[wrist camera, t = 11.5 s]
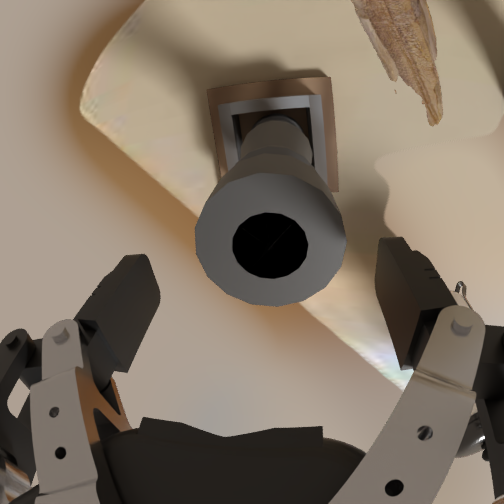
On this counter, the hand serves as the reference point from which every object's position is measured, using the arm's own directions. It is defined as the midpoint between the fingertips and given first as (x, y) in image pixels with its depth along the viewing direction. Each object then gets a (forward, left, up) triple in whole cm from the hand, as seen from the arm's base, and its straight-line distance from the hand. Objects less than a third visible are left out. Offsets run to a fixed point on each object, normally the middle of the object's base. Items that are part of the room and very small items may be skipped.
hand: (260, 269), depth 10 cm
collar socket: (0, 0, -28) cm, 28 cm away
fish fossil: (-17, -13, -28) cm, 36 cm away
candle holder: (0, 0, -26) cm, 27 cm away
